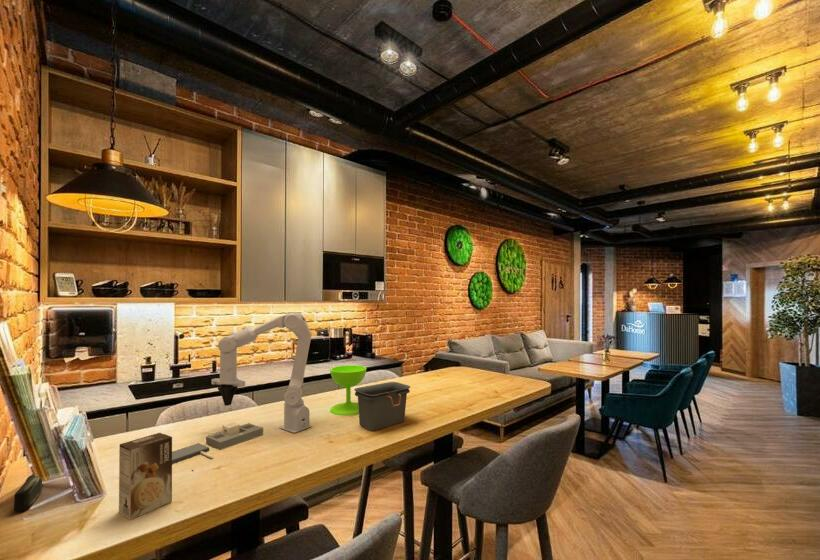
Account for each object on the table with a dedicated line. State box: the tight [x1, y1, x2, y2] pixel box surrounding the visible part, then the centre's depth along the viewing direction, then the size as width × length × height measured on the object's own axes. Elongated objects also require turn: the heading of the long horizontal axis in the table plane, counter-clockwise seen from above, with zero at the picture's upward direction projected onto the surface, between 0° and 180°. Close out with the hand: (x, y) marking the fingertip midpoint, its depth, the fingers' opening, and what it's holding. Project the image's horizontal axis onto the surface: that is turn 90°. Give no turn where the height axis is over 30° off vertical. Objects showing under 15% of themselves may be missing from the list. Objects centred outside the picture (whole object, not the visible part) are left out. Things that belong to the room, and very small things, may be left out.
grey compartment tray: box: [205, 422, 264, 450], centre depth 132 cm, size 9×16×2 cm, turn 146°
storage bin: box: [353, 381, 411, 431], centre depth 147 cm, size 21×16×14 cm
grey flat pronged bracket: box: [172, 442, 214, 465], centre depth 117 cm, size 14×13×1 cm
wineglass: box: [329, 364, 367, 416], centre depth 166 cm, size 16×16×18 cm
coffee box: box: [118, 432, 173, 520], centre depth 91 cm, size 9×6×16 cm
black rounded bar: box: [13, 473, 44, 513], centre depth 94 cm, size 5×3×15 cm
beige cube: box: [222, 422, 240, 436], centre depth 134 cm, size 4×4×4 cm
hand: (227, 404), depth 140 cm, fingers closed
